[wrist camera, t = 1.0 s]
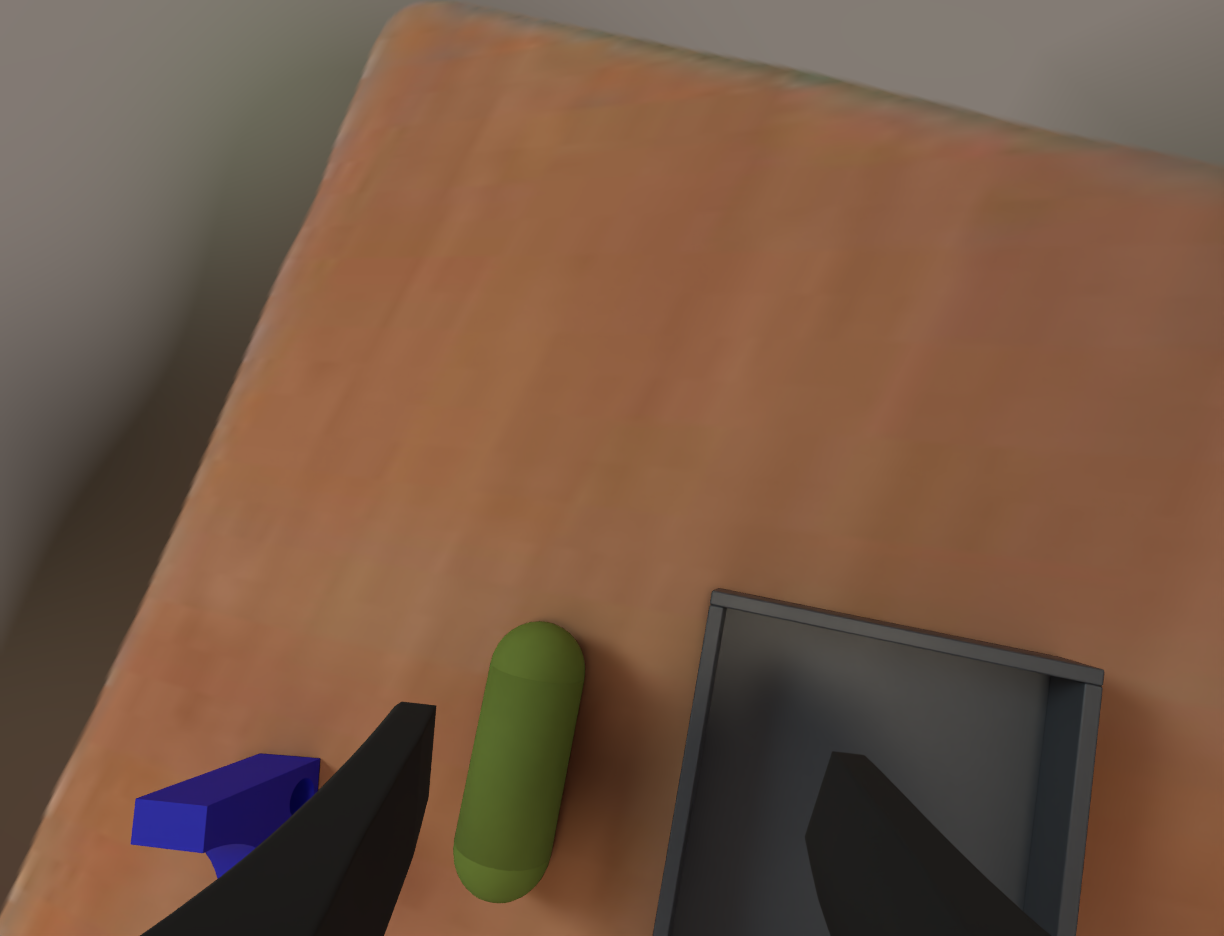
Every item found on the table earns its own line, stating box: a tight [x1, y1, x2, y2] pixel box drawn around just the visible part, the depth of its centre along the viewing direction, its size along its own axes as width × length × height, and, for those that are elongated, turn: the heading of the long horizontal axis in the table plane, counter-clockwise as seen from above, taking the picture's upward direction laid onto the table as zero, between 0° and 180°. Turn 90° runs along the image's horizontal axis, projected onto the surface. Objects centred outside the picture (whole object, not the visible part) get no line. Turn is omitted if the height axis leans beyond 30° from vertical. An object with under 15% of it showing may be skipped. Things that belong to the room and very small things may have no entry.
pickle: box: [453, 621, 585, 903], centre depth 25 cm, size 10×4×4 cm, turn 169°
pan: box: [653, 588, 1104, 936], centre depth 22 cm, size 15×12×3 cm
